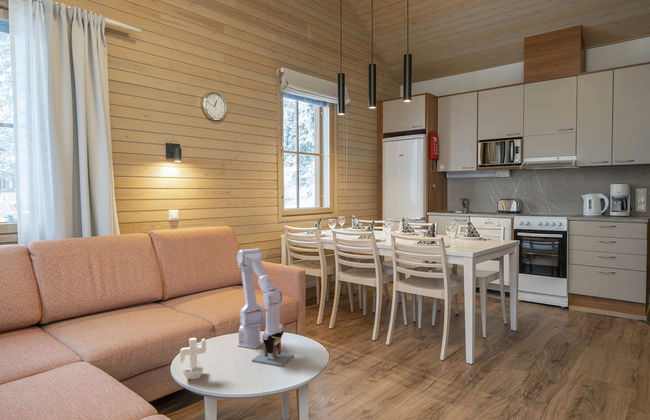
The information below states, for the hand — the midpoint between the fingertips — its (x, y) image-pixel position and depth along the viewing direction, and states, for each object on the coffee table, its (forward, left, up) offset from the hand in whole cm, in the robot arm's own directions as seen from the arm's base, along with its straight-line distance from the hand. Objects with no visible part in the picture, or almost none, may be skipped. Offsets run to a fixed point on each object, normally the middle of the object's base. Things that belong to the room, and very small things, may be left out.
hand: (273, 350), depth 176 cm
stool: (0, 0, -2) cm, 2 cm away
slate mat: (0, 0, -4) cm, 4 cm away
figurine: (-21, -25, -4) cm, 33 cm away
